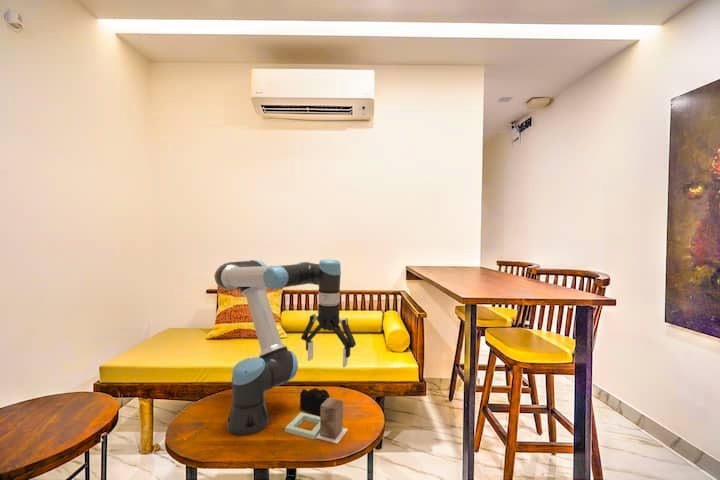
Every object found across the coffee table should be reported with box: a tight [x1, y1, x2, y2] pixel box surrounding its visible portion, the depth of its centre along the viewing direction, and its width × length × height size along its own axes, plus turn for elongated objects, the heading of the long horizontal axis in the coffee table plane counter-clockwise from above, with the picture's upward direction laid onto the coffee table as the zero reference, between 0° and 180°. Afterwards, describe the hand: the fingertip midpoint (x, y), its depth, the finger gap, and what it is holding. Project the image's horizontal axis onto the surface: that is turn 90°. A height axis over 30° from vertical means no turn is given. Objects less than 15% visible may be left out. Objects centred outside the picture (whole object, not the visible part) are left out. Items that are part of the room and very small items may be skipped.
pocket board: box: [284, 412, 320, 440], centre depth 125 cm, size 12×11×2 cm
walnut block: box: [319, 397, 344, 440], centre depth 121 cm, size 6×6×11 cm
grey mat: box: [315, 427, 349, 444], centre depth 121 cm, size 9×9×1 cm
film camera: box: [299, 387, 331, 417], centre depth 139 cm, size 15×10×9 cm, turn 57°
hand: (327, 362), depth 119 cm, fingers open, 13 cm apart
